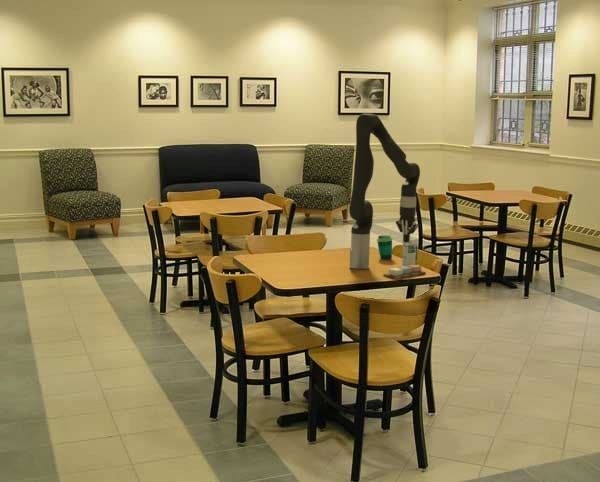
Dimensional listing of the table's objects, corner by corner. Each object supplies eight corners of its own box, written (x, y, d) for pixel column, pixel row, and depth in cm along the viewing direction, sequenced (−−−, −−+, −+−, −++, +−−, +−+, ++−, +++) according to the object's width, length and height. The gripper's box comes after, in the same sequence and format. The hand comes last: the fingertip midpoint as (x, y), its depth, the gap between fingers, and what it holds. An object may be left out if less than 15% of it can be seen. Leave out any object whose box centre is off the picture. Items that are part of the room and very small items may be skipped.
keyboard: (397, 279, 373) (397, 277, 372) (383, 276, 379) (383, 273, 379) (425, 274, 386) (425, 271, 385) (411, 271, 392) (411, 268, 392)
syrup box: (406, 268, 399) (407, 239, 396) (401, 265, 405) (402, 237, 402) (416, 267, 401) (418, 239, 398) (412, 265, 406) (413, 236, 404)
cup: (391, 260, 416) (391, 238, 414) (375, 260, 417) (376, 237, 415) (392, 258, 424) (393, 235, 422) (377, 257, 425) (377, 234, 423)
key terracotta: (414, 274, 383) (414, 267, 383) (406, 272, 387) (406, 265, 386) (420, 273, 386) (421, 266, 386) (413, 271, 390) (413, 264, 389)
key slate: (405, 276, 379) (405, 268, 378) (397, 274, 383) (397, 267, 382) (411, 275, 382) (412, 267, 382) (404, 273, 386) (404, 266, 385)
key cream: (395, 278, 375) (396, 270, 374) (388, 276, 378) (388, 268, 378) (402, 276, 378) (403, 269, 377) (395, 275, 382) (395, 267, 381)
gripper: (424, 206, 374) (422, 243, 377) (402, 203, 384) (401, 239, 387) (413, 208, 369) (411, 245, 372) (392, 204, 379) (390, 240, 382)
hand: (406, 242), depth 380 cm, fingers closed
